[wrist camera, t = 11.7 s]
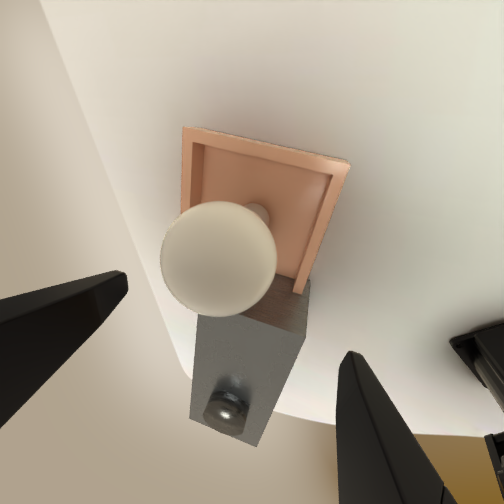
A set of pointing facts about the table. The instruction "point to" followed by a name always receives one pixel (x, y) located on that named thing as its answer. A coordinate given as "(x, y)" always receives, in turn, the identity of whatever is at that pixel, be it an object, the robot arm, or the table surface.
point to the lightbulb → (219, 257)
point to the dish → (266, 189)
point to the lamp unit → (247, 361)
